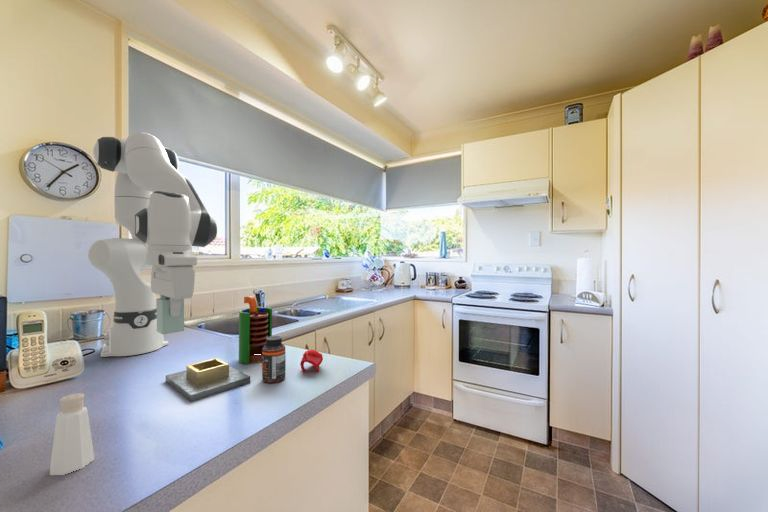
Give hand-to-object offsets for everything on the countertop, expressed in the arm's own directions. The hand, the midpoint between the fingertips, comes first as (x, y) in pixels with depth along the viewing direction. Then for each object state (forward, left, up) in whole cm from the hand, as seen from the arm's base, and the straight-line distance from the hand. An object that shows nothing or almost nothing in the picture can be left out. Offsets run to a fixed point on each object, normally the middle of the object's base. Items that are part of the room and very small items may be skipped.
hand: (170, 314), depth 76 cm
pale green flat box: (0, 0, -4) cm, 4 cm away
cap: (+15, +31, -19) cm, 39 cm away
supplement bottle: (+13, +20, -19) cm, 31 cm away
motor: (-7, +25, -19) cm, 33 cm away
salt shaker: (+19, -19, -19) cm, 33 cm away
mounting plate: (+1, +8, -19) cm, 21 cm away
